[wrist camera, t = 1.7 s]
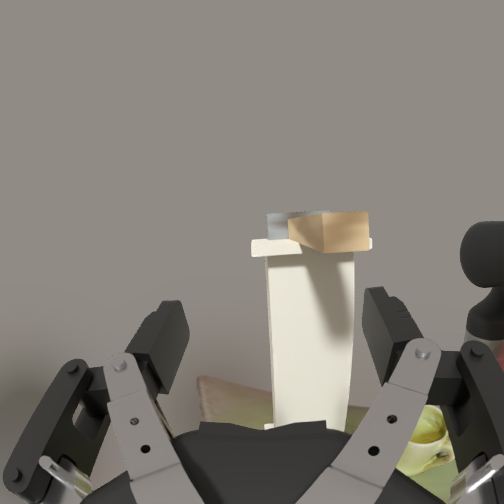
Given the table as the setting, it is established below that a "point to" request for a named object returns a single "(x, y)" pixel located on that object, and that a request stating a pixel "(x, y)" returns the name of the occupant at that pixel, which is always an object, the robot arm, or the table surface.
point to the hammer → (321, 230)
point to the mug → (426, 444)
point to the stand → (309, 331)
